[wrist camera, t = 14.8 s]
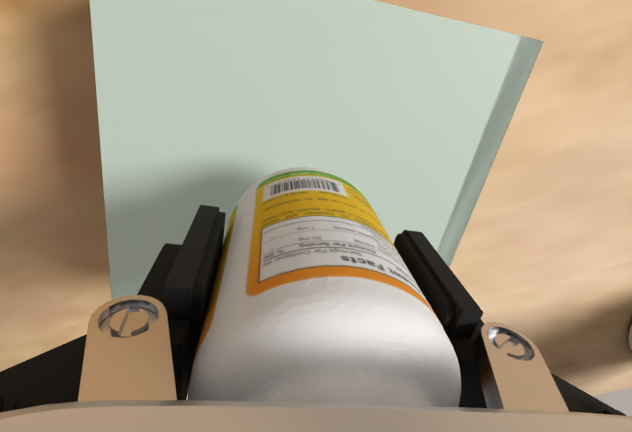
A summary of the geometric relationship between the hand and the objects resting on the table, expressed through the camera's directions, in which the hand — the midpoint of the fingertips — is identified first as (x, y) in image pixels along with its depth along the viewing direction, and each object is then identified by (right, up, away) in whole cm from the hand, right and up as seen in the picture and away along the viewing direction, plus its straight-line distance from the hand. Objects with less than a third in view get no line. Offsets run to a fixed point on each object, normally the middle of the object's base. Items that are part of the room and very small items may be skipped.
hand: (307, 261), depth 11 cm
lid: (-1, +4, +8) cm, 9 cm away
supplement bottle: (0, +1, +2) cm, 2 cm away
